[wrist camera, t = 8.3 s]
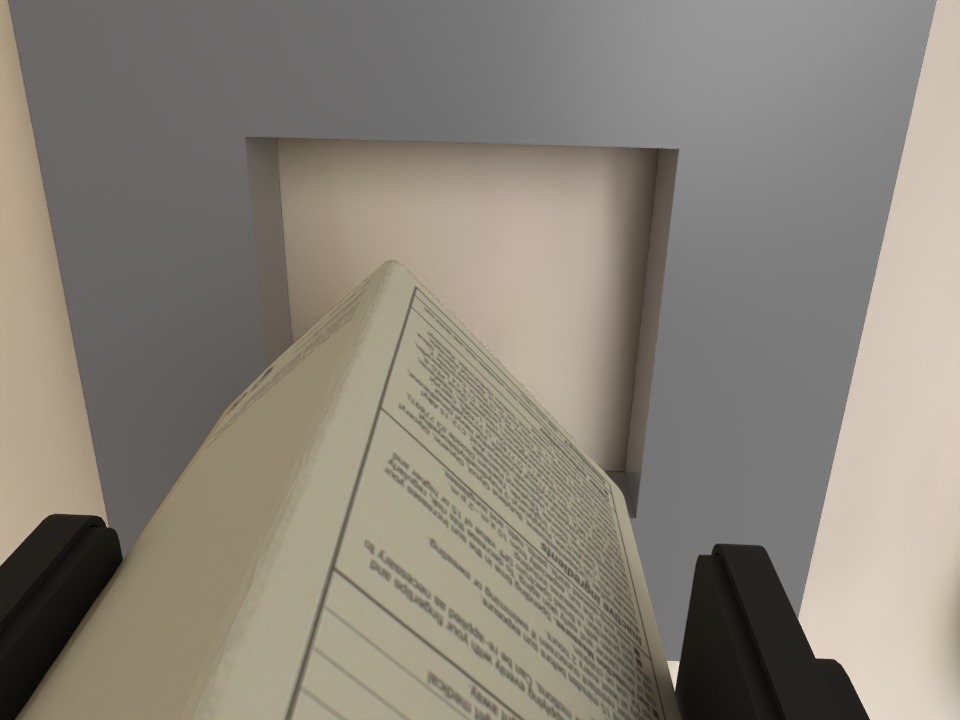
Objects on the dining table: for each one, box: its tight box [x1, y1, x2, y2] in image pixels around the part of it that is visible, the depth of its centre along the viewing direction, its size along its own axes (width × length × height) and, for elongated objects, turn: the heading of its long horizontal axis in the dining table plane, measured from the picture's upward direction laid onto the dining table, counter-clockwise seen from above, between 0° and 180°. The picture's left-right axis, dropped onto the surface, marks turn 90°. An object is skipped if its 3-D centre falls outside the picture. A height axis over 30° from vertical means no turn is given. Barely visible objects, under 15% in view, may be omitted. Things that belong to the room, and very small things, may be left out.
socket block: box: [8, 0, 937, 661], centre depth 21 cm, size 20×20×2 cm
